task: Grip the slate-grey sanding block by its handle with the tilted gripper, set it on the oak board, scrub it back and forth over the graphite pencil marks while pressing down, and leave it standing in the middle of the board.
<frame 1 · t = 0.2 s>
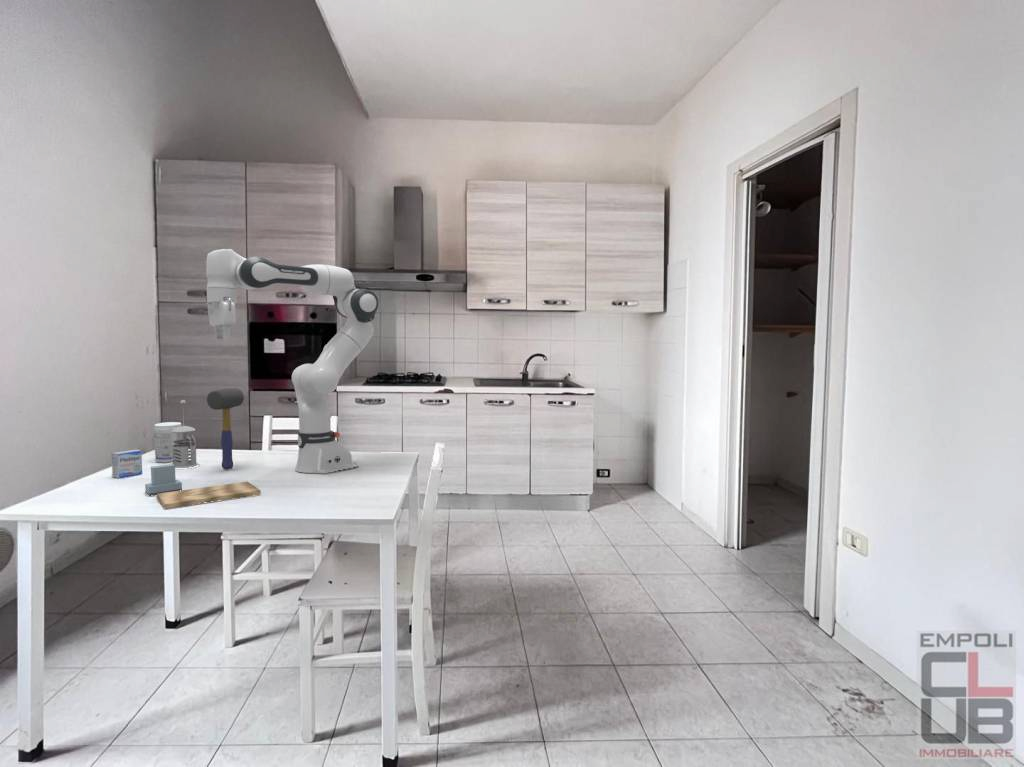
hand: (222, 339, 198), 48 cm above the table, tool pointing down, fingers open, 8 cm apart
supplement tub: (169, 461, 233), on the table
oak board: (209, 496, 183), on the table
rubber mallet: (227, 470, 220), on the table
french press: (186, 467, 224), on the table
sanding block: (163, 492, 188), on the table
medicine box: (127, 476, 208), on the table
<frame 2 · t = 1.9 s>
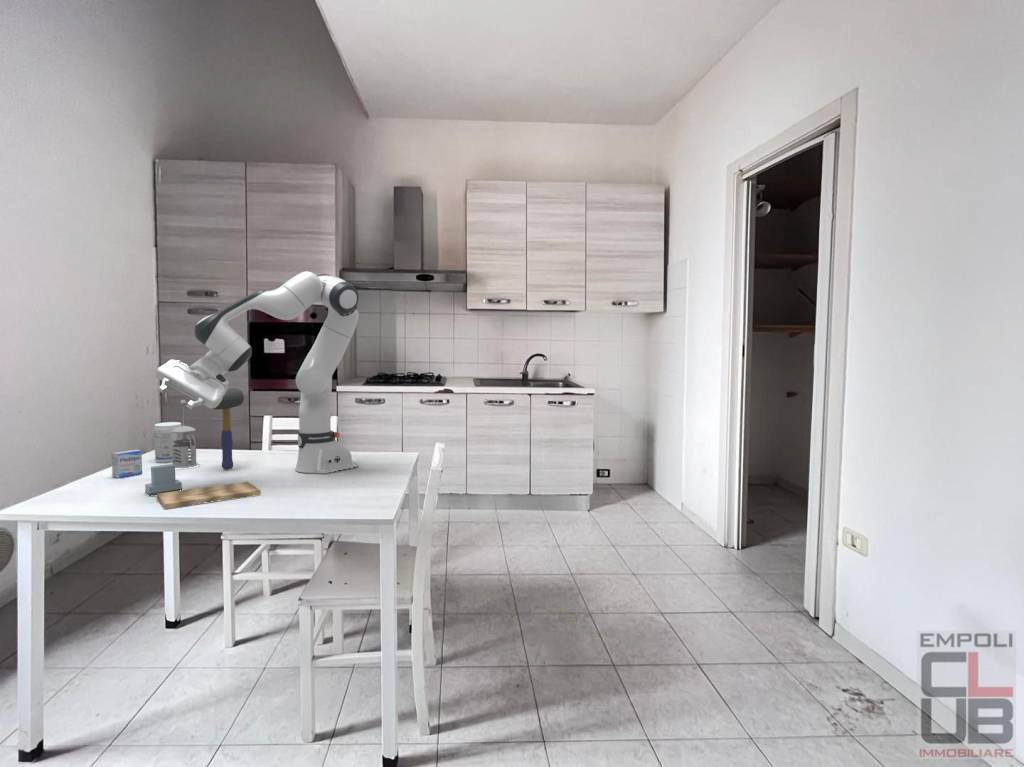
hand: (174, 398, 181), 30 cm above the table, tool tilted 60°, fingers open, 8 cm apart
nothing on the table moved.
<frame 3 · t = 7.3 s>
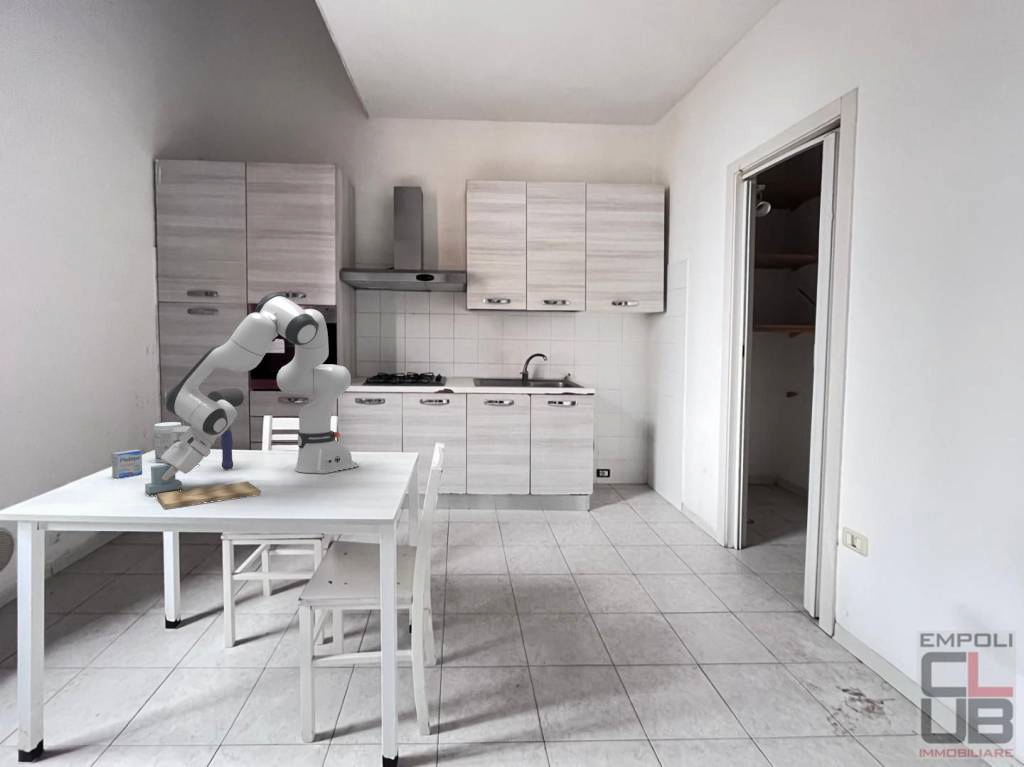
hand: (161, 477, 187), 5 cm above the table, tool tilted 45°, fingers closed on sanding block, 3 cm apart
sanding block: (163, 492, 188), on the table, touching gripper
everything else where it was.
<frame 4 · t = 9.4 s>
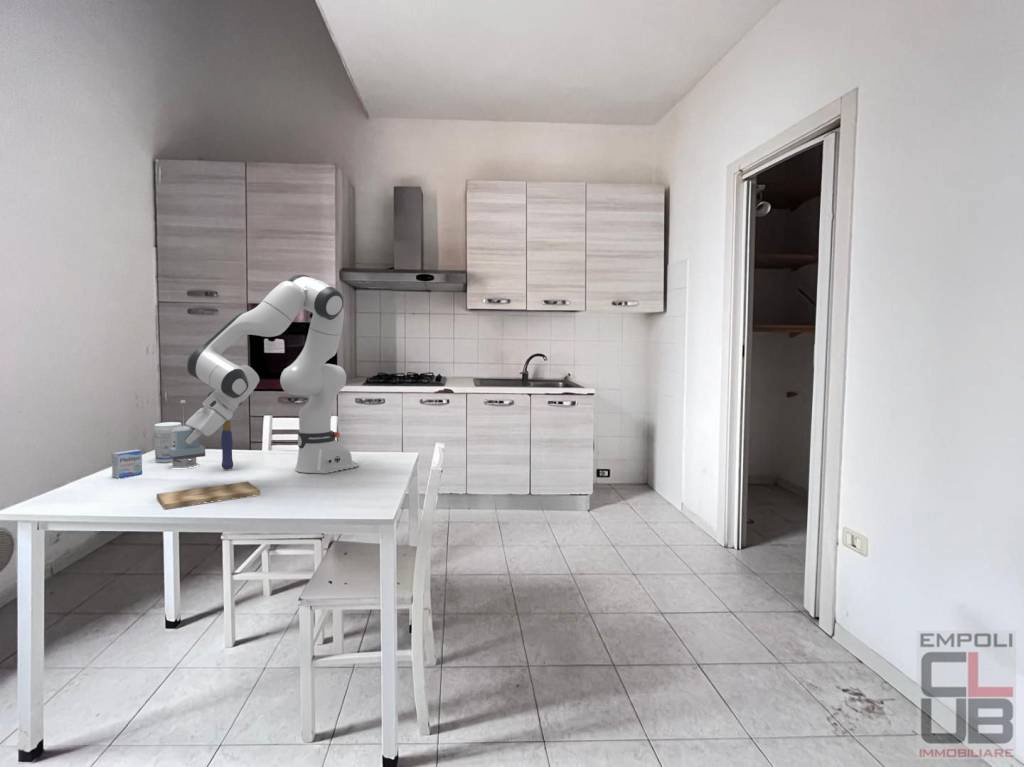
hand: (184, 441, 186), 16 cm above the table, tool tilted 45°, fingers closed on sanding block, 3 cm apart
sanding block: (187, 456, 187), point 11 cm above the table, touching gripper
everything else where it was.
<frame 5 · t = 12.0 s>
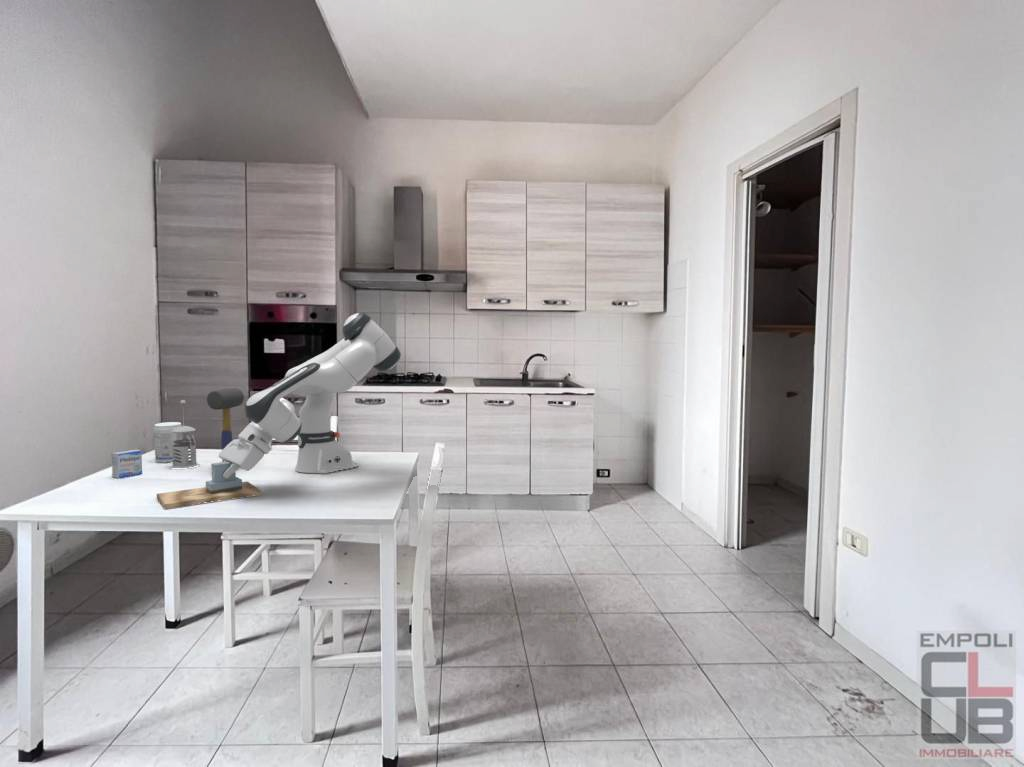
hand: (221, 475, 184), 6 cm above the table, tool tilted 45°, fingers closed on sanding block, 3 cm apart
sanding block: (224, 489, 185), point 2 cm above the table, touching gripper, oak board
everything else where it was.
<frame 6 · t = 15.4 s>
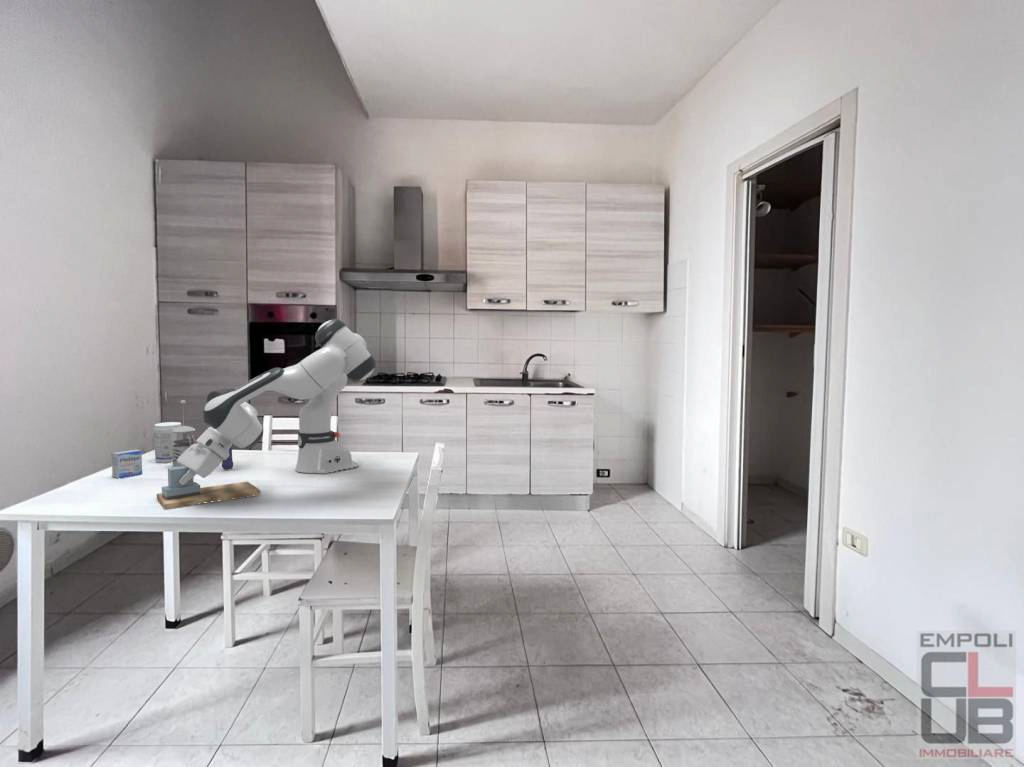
hand: (177, 482, 177), 6 cm above the table, tool tilted 45°, fingers closed on sanding block, 3 cm apart
sanding block: (181, 495, 178), point 2 cm above the table, touching gripper, oak board
everything else where it was.
when the fingers open (6 cm above the table, at t = 20.2 s): sanding block stays where it is, resting on oak board.
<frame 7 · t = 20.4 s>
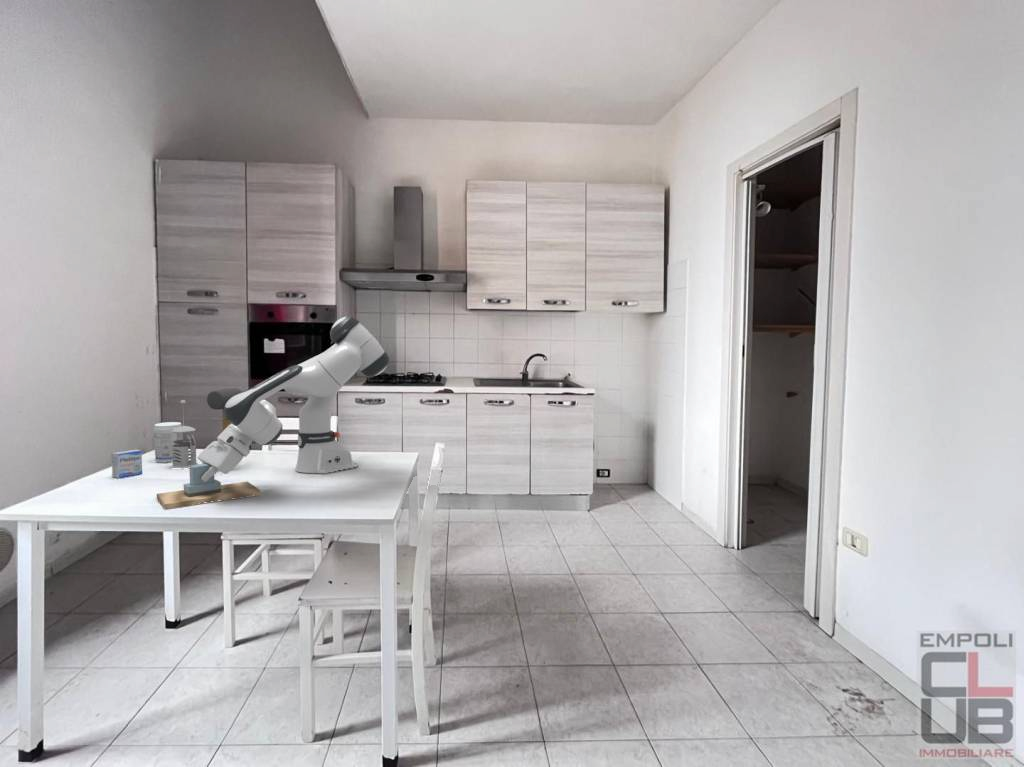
hand: (199, 478, 181), 6 cm above the table, tool tilted 45°, fingers open, 4 cm apart
sanding block: (202, 492, 182), point 2 cm above the table, touching oak board
everything else where it was.
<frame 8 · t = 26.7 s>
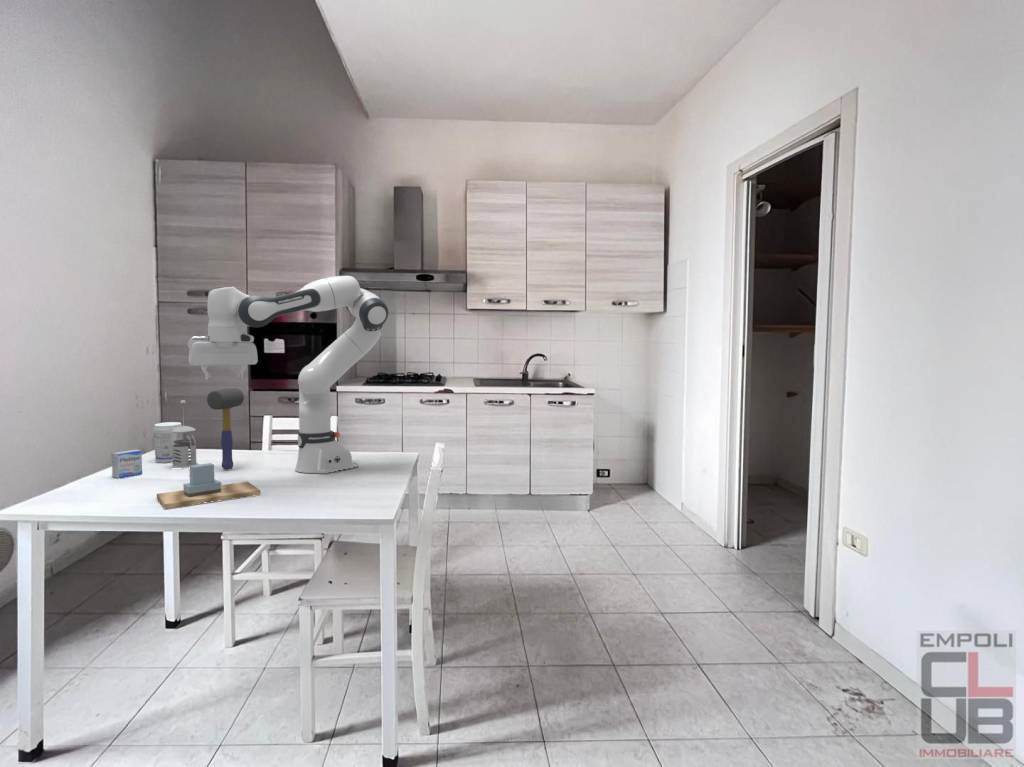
hand: (224, 379, 195), 35 cm above the table, tool pointing down, fingers open, 8 cm apart
nothing on the table moved.
at the end: sanding block inside the target area on the oak board (1.9 cm from its centre), point 1.5 cm above the oak board's base; sanding block tilted 0°; the gripper is holding nothing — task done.
